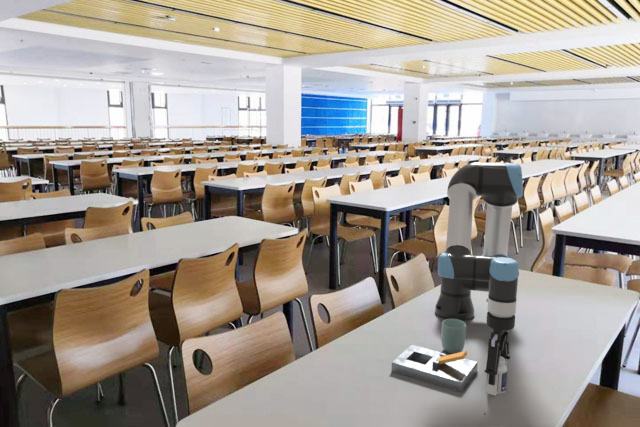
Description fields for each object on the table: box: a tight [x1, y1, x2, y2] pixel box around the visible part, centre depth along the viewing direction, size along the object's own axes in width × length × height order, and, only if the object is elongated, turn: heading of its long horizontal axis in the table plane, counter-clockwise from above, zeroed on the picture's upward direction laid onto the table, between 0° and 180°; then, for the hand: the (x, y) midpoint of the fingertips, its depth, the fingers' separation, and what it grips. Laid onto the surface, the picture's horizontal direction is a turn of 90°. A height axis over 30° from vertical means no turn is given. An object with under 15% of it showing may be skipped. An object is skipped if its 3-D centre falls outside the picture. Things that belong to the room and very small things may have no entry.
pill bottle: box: [486, 356, 508, 395], centre depth 148 cm, size 5×5×10 cm
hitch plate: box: [391, 344, 478, 393], centre depth 160 cm, size 15×22×5 cm
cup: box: [440, 318, 467, 354], centre depth 172 cm, size 8×8×10 cm
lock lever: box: [435, 350, 468, 364], centre depth 156 cm, size 4×10×1 cm, turn 56°
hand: (496, 386), depth 149 cm, fingers open, 9 cm apart
